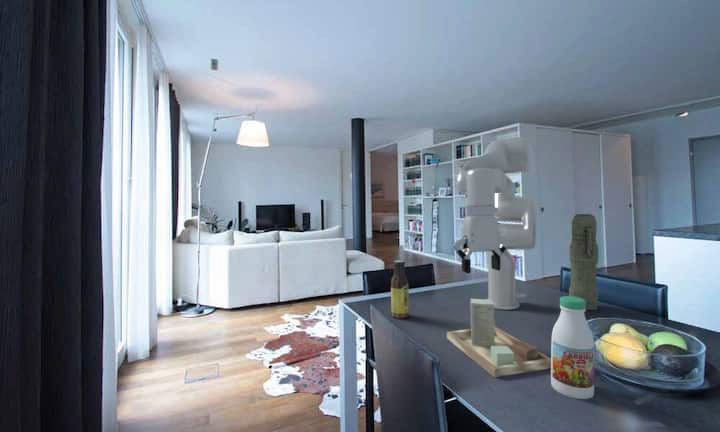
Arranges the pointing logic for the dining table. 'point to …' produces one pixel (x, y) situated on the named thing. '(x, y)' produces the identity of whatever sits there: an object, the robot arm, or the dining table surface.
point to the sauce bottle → (399, 291)
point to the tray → (484, 353)
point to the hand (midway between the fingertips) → (481, 270)
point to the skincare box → (482, 322)
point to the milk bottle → (572, 351)
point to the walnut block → (524, 352)
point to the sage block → (501, 355)
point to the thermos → (584, 260)
